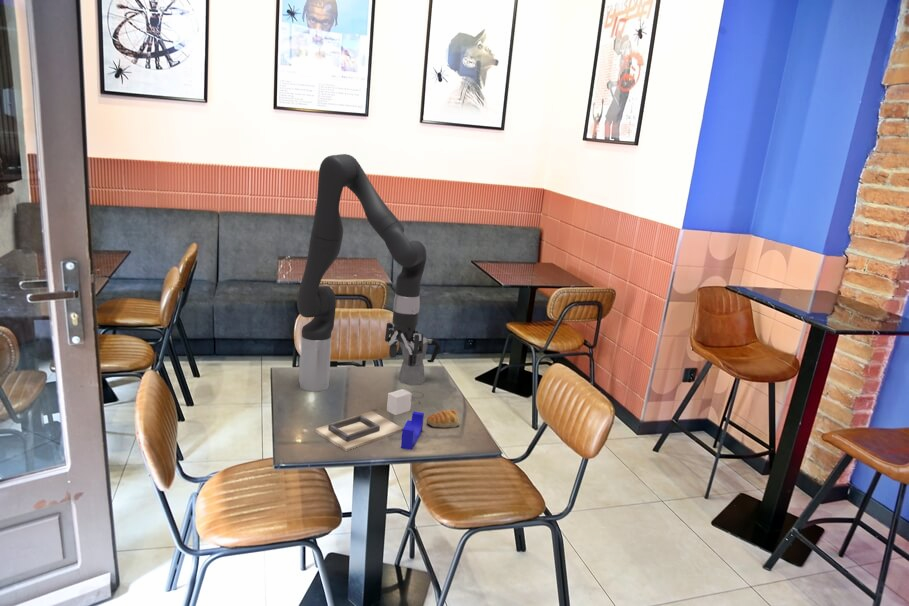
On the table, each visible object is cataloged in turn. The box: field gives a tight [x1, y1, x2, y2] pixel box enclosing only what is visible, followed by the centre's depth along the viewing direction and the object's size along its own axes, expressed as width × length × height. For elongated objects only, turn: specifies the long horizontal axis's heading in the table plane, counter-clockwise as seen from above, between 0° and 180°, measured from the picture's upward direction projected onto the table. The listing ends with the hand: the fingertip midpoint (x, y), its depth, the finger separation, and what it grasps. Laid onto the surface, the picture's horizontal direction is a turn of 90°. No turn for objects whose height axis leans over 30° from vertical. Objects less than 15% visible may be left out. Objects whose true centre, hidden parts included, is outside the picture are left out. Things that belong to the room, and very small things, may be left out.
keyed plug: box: [386, 388, 413, 416], centre depth 190 cm, size 4×7×6 cm, turn 136°
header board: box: [314, 410, 404, 452], centre depth 175 cm, size 14×20×2 cm
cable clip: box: [400, 411, 425, 451], centre depth 173 cm, size 12×4×6 cm, turn 169°
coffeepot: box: [397, 330, 441, 386], centre depth 213 cm, size 15×9×18 cm, turn 87°
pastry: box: [426, 409, 460, 429], centre depth 184 cm, size 9×7×4 cm
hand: (402, 361), depth 186 cm, fingers open, 8 cm apart
